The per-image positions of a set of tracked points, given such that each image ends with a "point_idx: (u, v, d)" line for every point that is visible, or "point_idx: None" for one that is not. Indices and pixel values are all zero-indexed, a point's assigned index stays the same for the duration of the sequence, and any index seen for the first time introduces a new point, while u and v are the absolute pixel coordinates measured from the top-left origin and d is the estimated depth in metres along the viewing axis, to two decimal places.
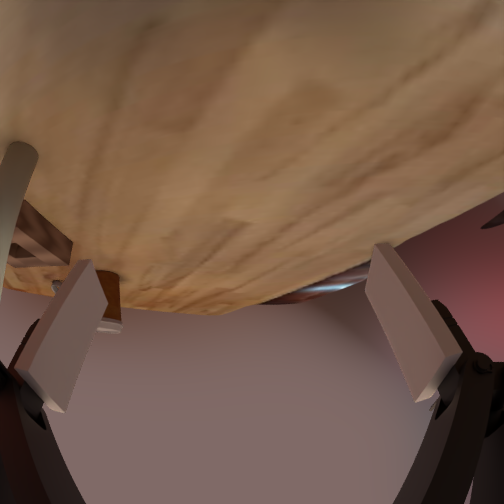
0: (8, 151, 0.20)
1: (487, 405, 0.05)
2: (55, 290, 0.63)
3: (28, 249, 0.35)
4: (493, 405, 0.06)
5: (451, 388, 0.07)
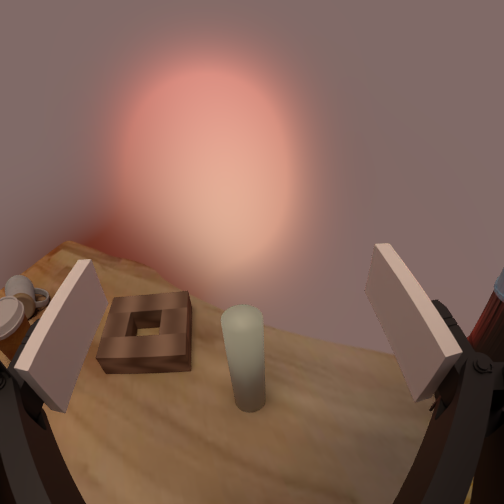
0: None
1: (487, 405, 0.05)
2: (40, 290, 0.54)
3: (142, 338, 0.41)
4: (493, 405, 0.06)
5: (451, 388, 0.07)
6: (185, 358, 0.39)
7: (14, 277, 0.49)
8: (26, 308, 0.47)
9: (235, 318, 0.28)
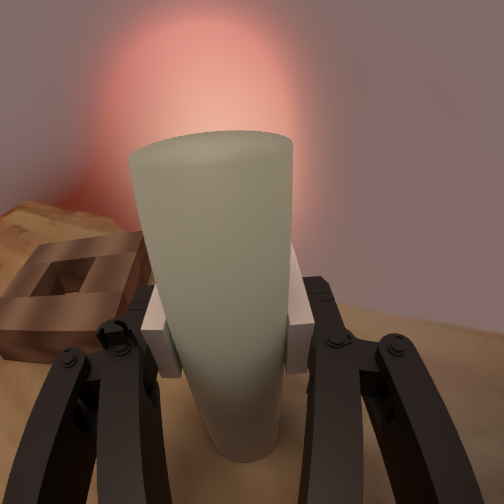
0: None
1: (355, 379, 0.07)
2: None
3: (51, 300, 0.20)
4: (369, 389, 0.08)
5: (313, 369, 0.09)
6: None
7: None
8: None
9: (185, 145, 0.07)
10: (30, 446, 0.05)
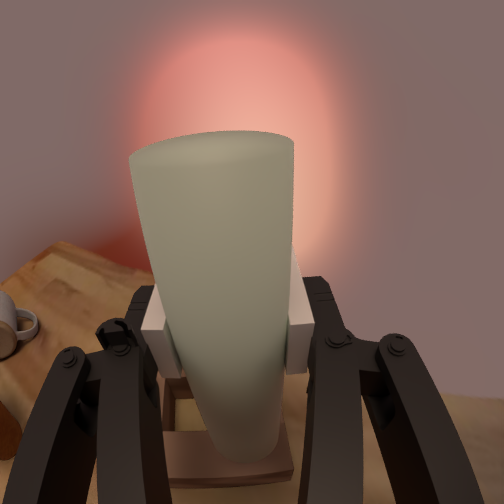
0: None
1: (355, 379, 0.07)
2: (25, 312, 0.34)
3: (197, 437, 0.19)
4: (369, 389, 0.08)
5: (313, 369, 0.09)
6: (290, 472, 0.17)
7: None
8: (3, 342, 0.27)
9: (186, 145, 0.07)
10: (30, 446, 0.05)
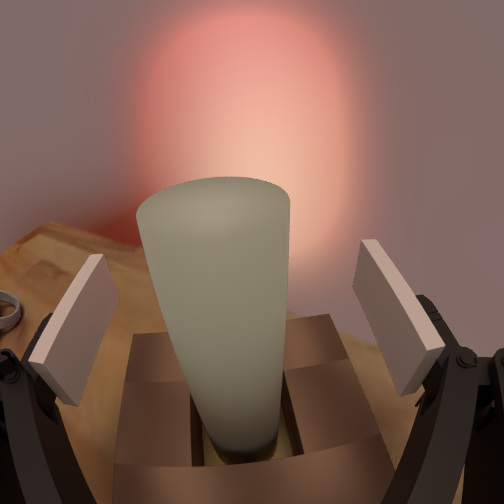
0: None
1: (473, 399, 0.06)
2: (6, 296, 0.26)
3: (253, 473, 0.11)
4: (480, 400, 0.07)
5: (435, 383, 0.08)
6: None
7: None
8: None
9: (189, 201, 0.08)
10: None
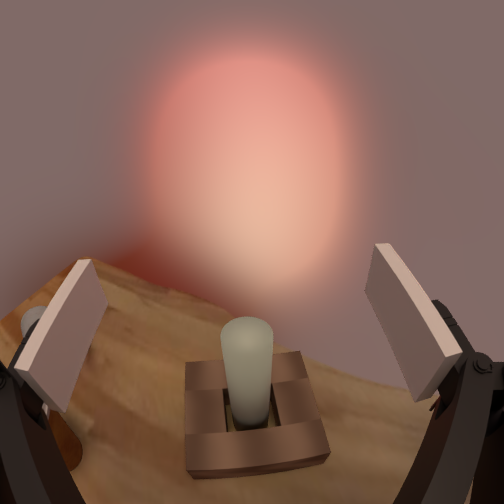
0: None
1: (487, 405, 0.05)
2: None
3: (256, 434, 0.26)
4: (493, 405, 0.06)
5: (451, 388, 0.07)
6: (327, 455, 0.24)
7: (35, 309, 0.35)
8: None
9: (238, 334, 0.22)
10: None
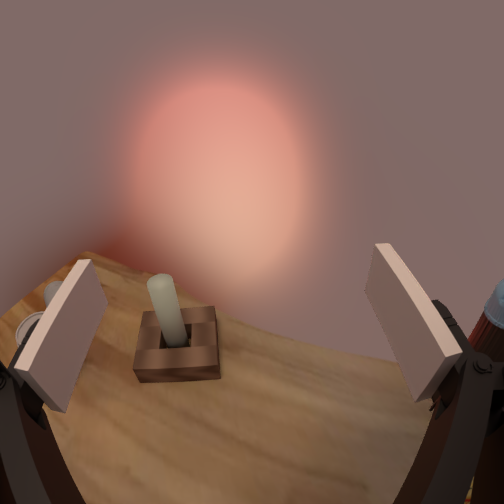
0: (189, 345, 0.51)
1: (487, 405, 0.05)
2: None
3: (175, 350, 0.46)
4: (493, 405, 0.06)
5: (451, 388, 0.07)
6: (217, 368, 0.44)
7: (54, 283, 0.56)
8: None
9: (155, 281, 0.43)
10: None
